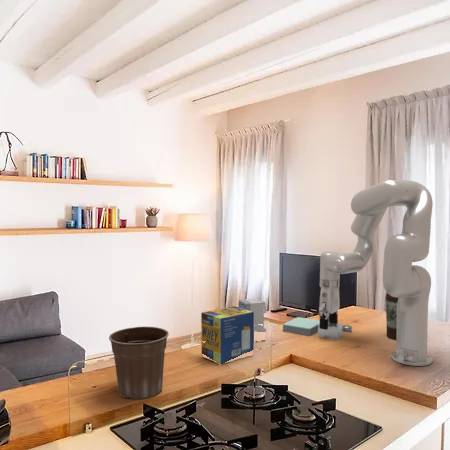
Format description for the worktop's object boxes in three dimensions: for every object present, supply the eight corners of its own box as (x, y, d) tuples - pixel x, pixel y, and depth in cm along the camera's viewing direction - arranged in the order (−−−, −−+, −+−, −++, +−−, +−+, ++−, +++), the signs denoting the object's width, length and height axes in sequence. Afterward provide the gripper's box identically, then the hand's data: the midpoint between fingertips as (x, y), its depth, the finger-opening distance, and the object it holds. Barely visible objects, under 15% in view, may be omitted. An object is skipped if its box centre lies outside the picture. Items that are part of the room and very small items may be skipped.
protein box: (200, 357, 156) (200, 312, 155) (234, 348, 165) (234, 305, 165) (220, 365, 148) (220, 318, 147) (254, 355, 157) (254, 310, 157)
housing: (337, 340, 175) (337, 325, 175) (318, 336, 180) (318, 322, 180) (342, 336, 179) (342, 322, 179) (322, 333, 184) (323, 319, 184)
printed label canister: (397, 331, 185) (397, 270, 184) (420, 338, 176) (420, 274, 175) (379, 335, 180) (379, 273, 179) (402, 342, 171) (402, 276, 170)
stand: (310, 336, 180) (310, 328, 180) (282, 331, 187) (282, 324, 187) (323, 328, 192) (323, 321, 191) (297, 323, 198) (297, 317, 198)
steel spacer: (350, 333, 184) (350, 328, 184) (340, 331, 186) (340, 326, 186) (352, 330, 188) (352, 326, 188) (342, 329, 190) (343, 324, 190)
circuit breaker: (224, 339, 176) (223, 301, 175) (257, 335, 181) (257, 298, 180) (231, 345, 169) (231, 305, 168) (265, 340, 174) (265, 302, 173)
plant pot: (124, 409, 116) (123, 346, 115) (101, 388, 129) (100, 332, 128) (179, 393, 126) (179, 335, 125) (152, 375, 139) (152, 323, 138)
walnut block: (337, 328, 192) (337, 316, 192) (325, 327, 193) (325, 315, 193) (337, 325, 197) (337, 313, 196) (325, 324, 198) (326, 313, 198)
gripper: (330, 287, 170) (329, 333, 171) (346, 281, 184) (345, 322, 185) (311, 285, 174) (310, 329, 175) (328, 279, 188) (327, 319, 189)
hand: (328, 326), depth 180 cm, fingers open, 9 cm apart
